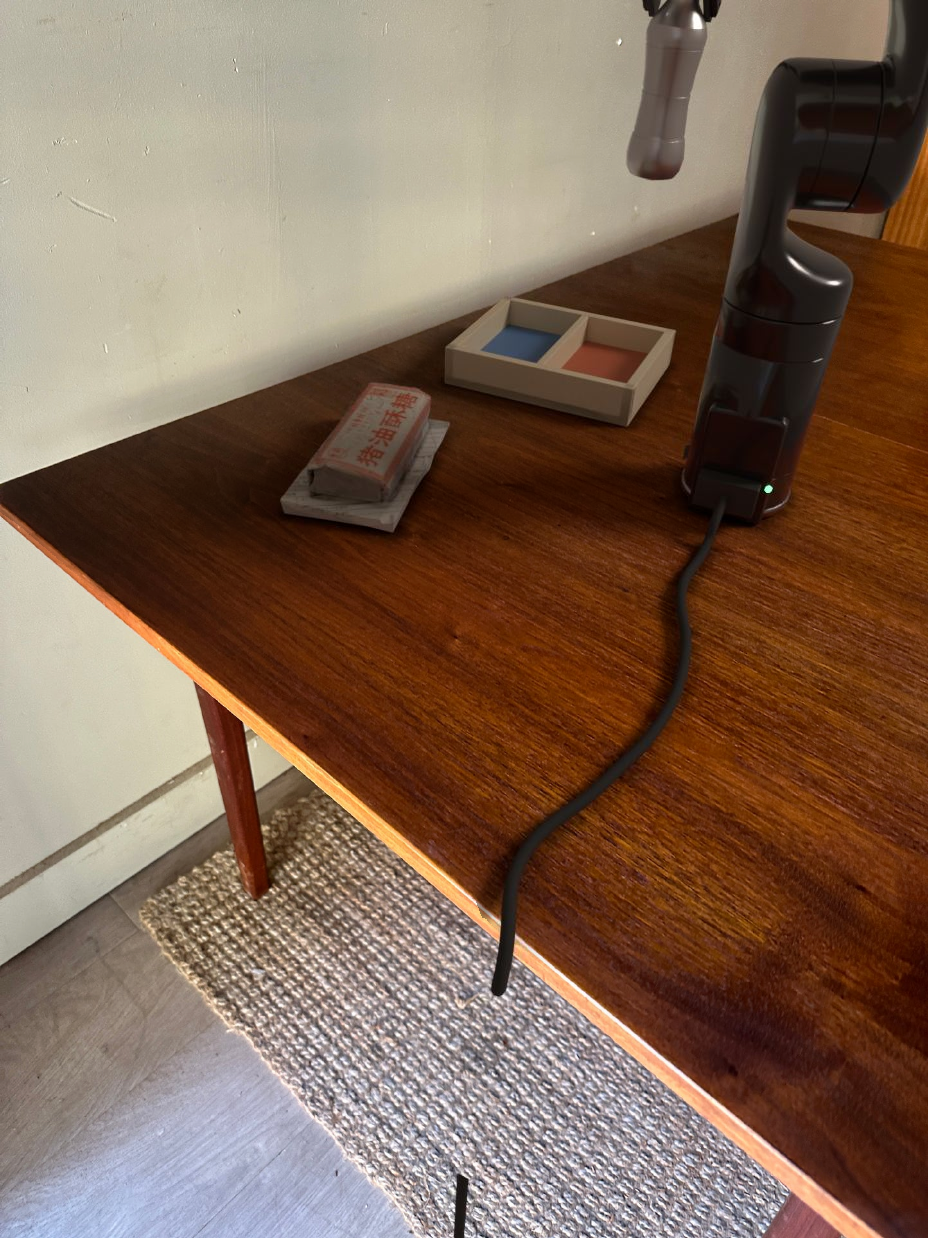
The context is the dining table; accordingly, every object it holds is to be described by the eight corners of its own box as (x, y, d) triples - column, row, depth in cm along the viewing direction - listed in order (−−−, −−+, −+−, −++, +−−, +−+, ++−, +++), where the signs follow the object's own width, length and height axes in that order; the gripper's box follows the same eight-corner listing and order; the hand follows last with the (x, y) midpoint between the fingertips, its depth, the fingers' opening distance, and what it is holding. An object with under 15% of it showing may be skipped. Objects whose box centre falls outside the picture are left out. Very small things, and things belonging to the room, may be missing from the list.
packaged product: (349, 371, 86) (451, 386, 85) (352, 417, 89) (450, 432, 88) (274, 466, 73) (393, 485, 71) (280, 516, 76) (394, 536, 74)
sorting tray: (627, 426, 90) (633, 389, 87) (444, 383, 96) (445, 346, 93) (669, 364, 101) (676, 329, 98) (503, 329, 107) (505, 295, 104)
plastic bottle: (677, 189, 105) (720, -20, 92) (619, 181, 106) (654, -27, 93) (680, 175, 110) (722, -27, 97) (624, 167, 111) (658, -33, 98)
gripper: (585, -99, 85) (608, 37, 101) (739, -91, 80) (737, 51, 96) (611, -172, 85) (629, -25, 101) (766, -168, 81) (759, -14, 97)
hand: (682, 11), depth 99 cm, fingers closed on plastic bottle, 5 cm apart
